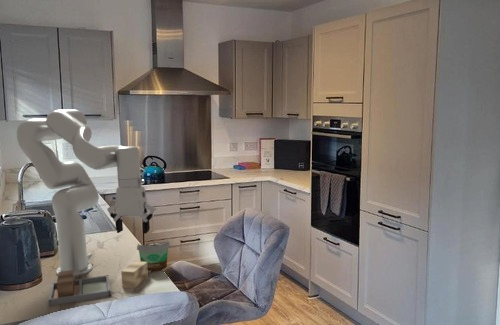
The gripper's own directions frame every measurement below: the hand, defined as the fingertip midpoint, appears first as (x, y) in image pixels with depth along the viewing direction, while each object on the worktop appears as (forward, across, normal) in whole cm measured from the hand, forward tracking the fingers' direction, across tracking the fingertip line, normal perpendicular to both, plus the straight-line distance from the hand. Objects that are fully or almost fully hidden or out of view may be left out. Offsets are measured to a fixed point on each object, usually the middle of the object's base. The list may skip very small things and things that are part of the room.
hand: (132, 232), depth 154 cm
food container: (+18, -2, -13) cm, 23 cm away
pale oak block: (+18, 0, 0) cm, 18 cm away
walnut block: (+18, +18, +13) cm, 29 cm away
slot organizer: (+18, +15, +10) cm, 26 cm away
